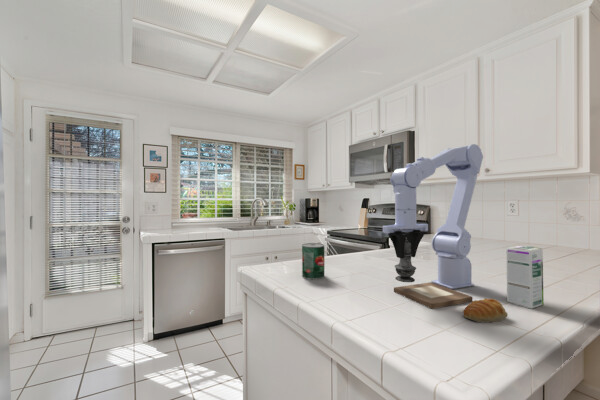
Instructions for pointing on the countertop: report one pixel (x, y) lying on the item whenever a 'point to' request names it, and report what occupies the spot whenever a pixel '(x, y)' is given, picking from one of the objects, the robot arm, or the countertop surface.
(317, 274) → the canned tomato
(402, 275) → the salt shaker
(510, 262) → the syrup box
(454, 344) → the countertop surface
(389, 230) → the robot arm
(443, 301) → the walnut board
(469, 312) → the pastry
